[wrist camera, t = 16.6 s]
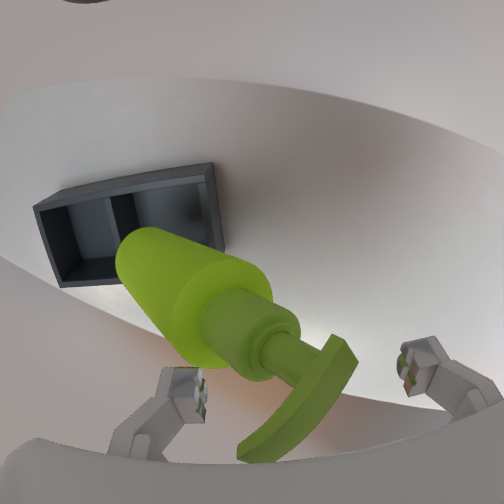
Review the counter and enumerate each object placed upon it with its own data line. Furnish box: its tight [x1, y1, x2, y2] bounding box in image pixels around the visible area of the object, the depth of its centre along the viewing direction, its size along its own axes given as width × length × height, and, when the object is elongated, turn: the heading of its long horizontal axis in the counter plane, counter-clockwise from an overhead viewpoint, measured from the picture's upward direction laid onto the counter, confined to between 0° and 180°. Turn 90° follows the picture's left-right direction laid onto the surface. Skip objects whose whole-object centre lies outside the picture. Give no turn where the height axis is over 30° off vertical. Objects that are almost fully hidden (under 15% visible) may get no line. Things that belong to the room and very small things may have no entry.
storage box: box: [33, 162, 225, 288], centre depth 33 cm, size 11×20×6 cm, turn 96°
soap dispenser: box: [115, 227, 359, 464], centre depth 17 cm, size 6×7×20 cm
